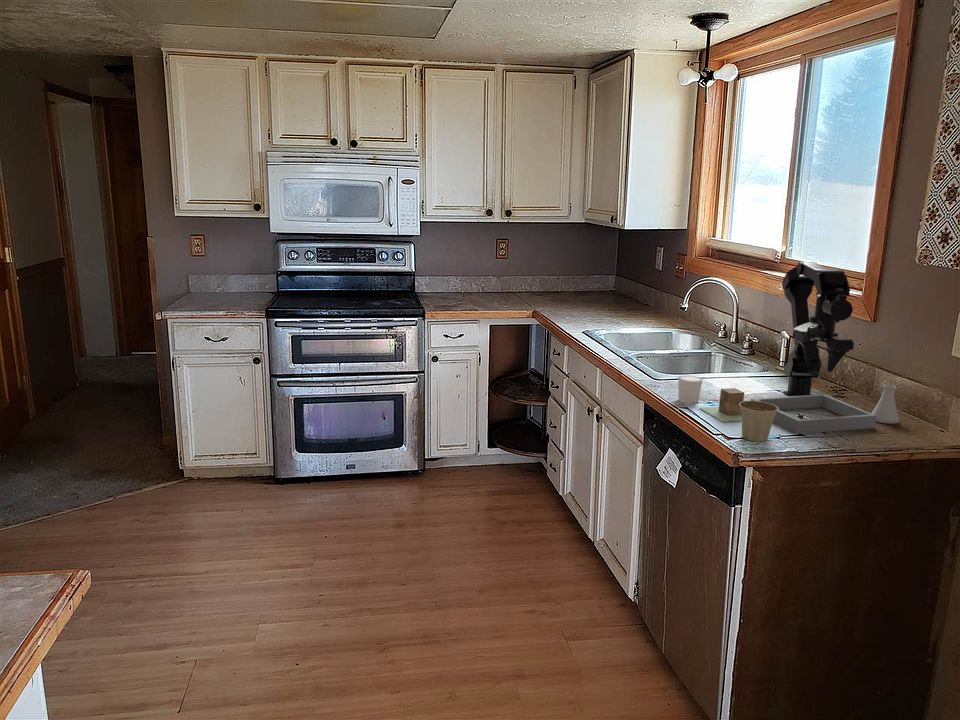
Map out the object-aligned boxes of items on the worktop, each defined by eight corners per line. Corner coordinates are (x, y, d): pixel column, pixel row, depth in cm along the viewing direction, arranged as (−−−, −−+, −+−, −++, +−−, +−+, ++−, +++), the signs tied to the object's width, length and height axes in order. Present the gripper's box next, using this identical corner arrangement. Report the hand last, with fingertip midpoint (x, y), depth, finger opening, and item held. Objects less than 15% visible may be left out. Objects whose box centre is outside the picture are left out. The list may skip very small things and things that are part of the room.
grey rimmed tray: (749, 410, 211) (751, 398, 210) (822, 405, 217) (824, 394, 216) (796, 433, 192) (797, 421, 191) (874, 428, 198) (876, 415, 197)
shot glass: (684, 396, 224) (686, 374, 222) (704, 401, 219) (706, 378, 217) (671, 400, 219) (673, 377, 217) (692, 405, 214) (694, 382, 213)
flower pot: (763, 431, 193) (766, 400, 191) (782, 444, 184) (786, 411, 182) (729, 432, 192) (732, 400, 190) (746, 445, 183) (750, 411, 181)
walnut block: (718, 410, 209) (720, 388, 207) (732, 410, 210) (735, 388, 208) (727, 415, 204) (729, 393, 203) (741, 414, 205) (744, 392, 204)
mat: (699, 409, 211) (699, 407, 211) (736, 406, 214) (736, 405, 214) (722, 422, 200) (723, 420, 200) (761, 419, 203) (761, 418, 203)
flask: (889, 416, 208) (895, 382, 206) (904, 424, 201) (910, 389, 199) (864, 416, 208) (869, 382, 206) (878, 424, 201) (884, 389, 199)
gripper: (780, 309, 215) (773, 361, 219) (824, 321, 198) (816, 377, 201) (812, 308, 218) (806, 359, 222) (859, 319, 200) (851, 375, 204)
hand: (818, 367), depth 212 cm, fingers open, 9 cm apart
